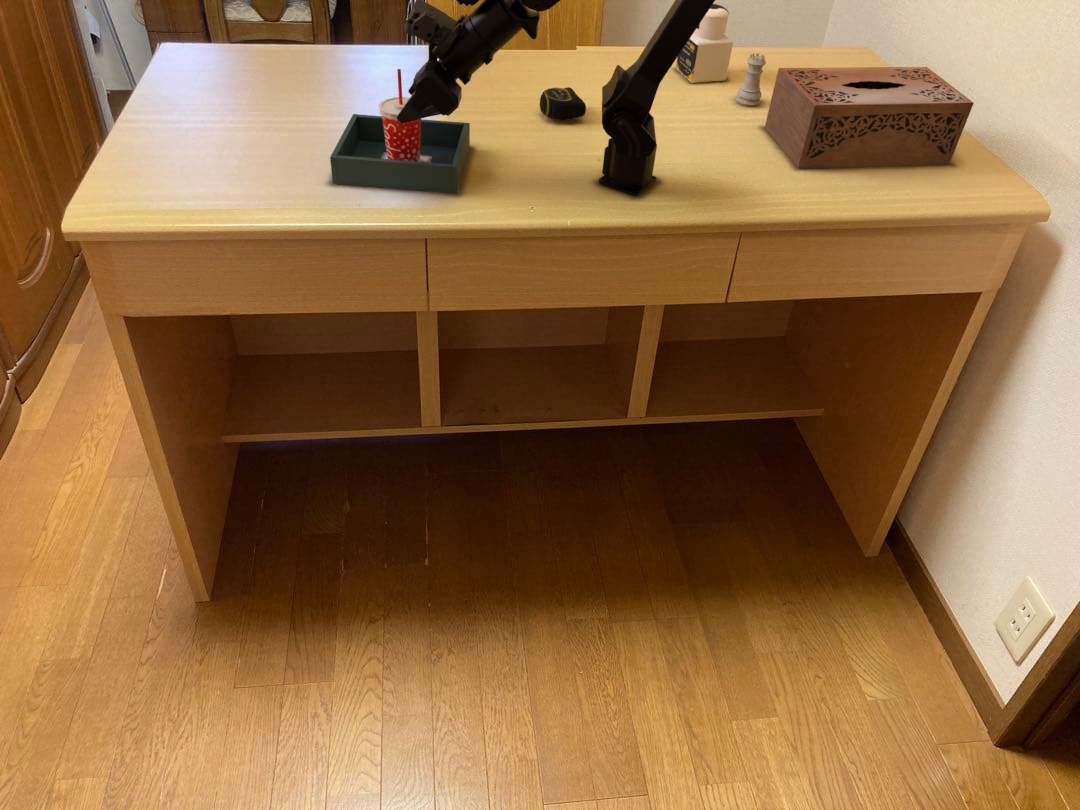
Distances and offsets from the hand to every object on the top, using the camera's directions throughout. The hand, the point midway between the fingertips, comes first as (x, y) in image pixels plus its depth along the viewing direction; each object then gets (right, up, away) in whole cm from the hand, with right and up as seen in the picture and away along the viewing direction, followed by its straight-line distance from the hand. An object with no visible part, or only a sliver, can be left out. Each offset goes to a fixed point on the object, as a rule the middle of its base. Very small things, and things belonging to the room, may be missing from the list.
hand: (404, 106), depth 121 cm
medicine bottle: (+49, +19, +39) cm, 65 cm away
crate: (-1, -7, +6) cm, 9 cm away
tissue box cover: (+70, 0, +20) cm, 73 cm away
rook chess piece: (+55, +11, +31) cm, 64 cm away
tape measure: (+23, +6, +22) cm, 33 cm away
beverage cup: (-1, -7, +6) cm, 9 cm away
